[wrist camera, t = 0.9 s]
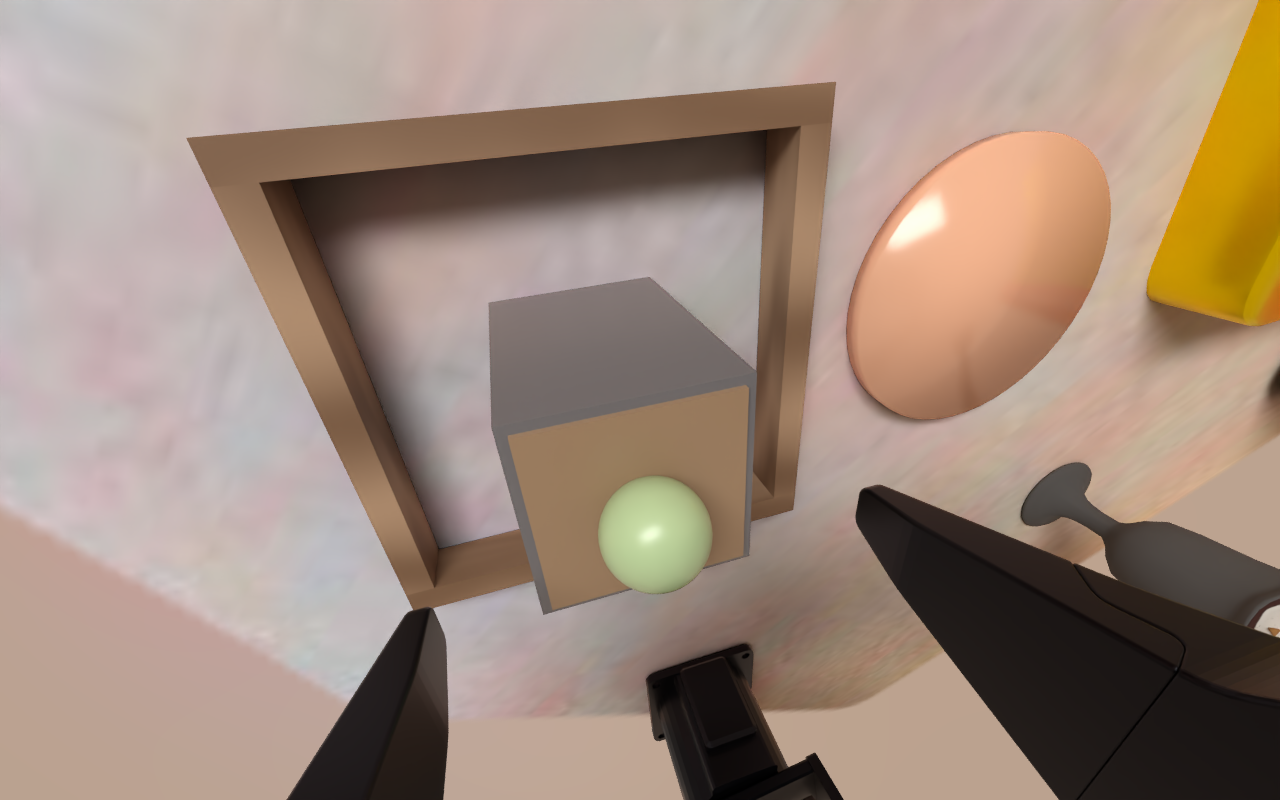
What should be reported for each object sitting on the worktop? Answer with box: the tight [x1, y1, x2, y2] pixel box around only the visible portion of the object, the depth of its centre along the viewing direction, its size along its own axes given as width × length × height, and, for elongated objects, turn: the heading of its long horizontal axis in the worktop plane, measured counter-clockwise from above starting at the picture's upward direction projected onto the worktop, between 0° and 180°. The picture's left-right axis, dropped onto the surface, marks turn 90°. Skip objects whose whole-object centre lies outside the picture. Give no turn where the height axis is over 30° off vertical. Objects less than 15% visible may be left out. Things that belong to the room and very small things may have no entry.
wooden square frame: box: [187, 82, 836, 610], centre depth 17 cm, size 16×16×2 cm
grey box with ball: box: [489, 277, 757, 615], centre depth 14 cm, size 6×6×10 cm
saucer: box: [847, 131, 1111, 419], centre depth 21 cm, size 12×12×1 cm
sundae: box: [1022, 463, 1280, 638], centre depth 24 cm, size 7×7×15 cm
